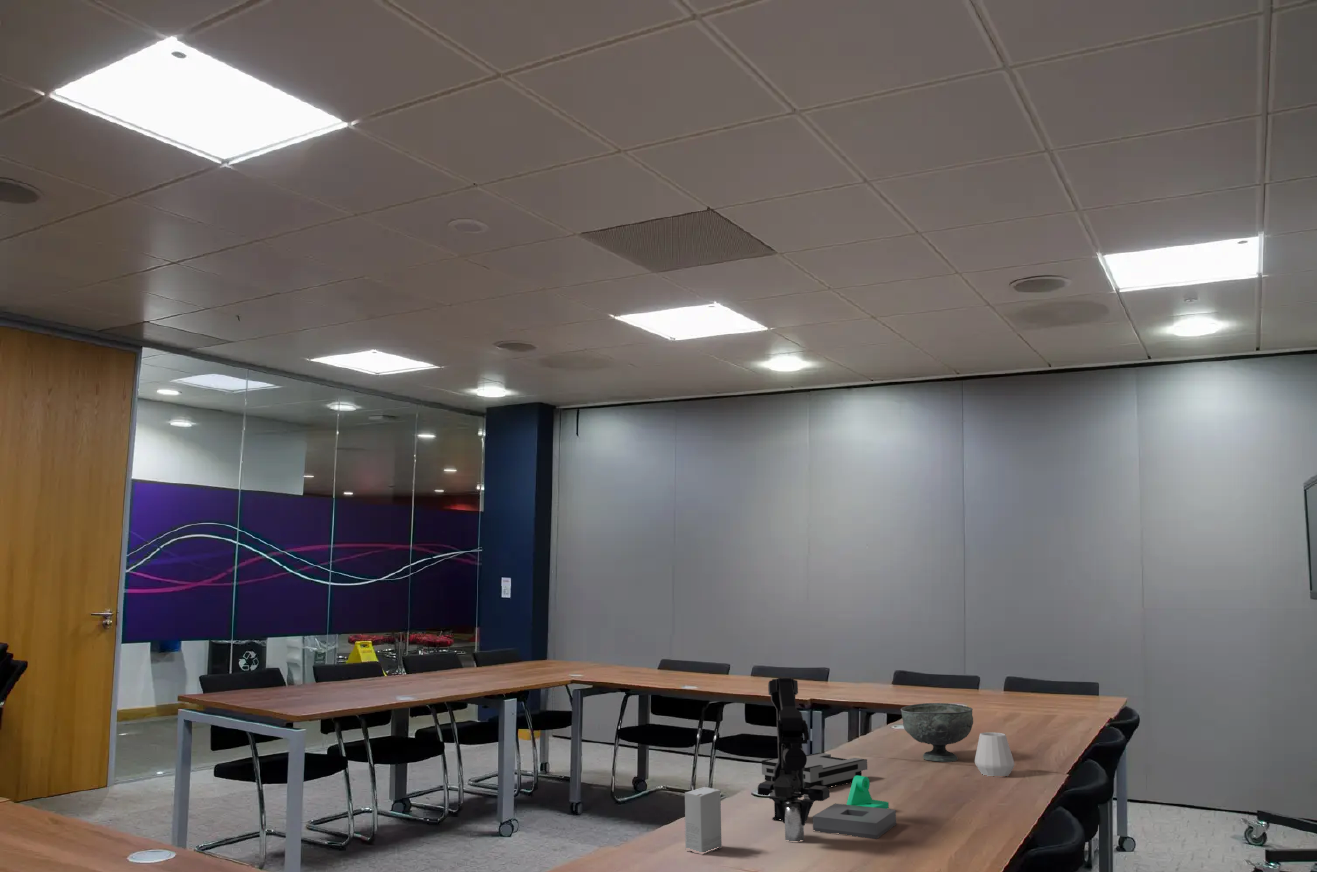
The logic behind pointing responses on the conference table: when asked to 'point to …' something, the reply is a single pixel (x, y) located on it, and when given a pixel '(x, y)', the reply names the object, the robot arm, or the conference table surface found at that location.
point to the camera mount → (863, 794)
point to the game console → (823, 769)
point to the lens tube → (793, 820)
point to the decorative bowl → (938, 726)
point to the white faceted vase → (994, 755)
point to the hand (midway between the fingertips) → (794, 824)
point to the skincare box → (703, 819)
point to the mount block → (855, 820)
